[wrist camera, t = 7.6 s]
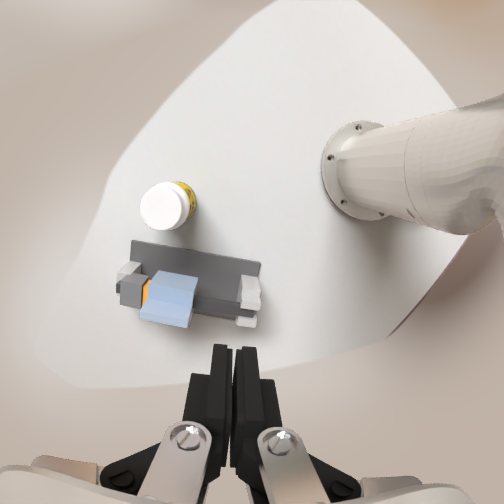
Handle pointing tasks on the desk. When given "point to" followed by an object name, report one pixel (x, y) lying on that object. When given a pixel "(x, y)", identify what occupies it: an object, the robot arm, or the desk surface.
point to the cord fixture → (209, 280)
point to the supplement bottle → (167, 205)
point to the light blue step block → (170, 299)
